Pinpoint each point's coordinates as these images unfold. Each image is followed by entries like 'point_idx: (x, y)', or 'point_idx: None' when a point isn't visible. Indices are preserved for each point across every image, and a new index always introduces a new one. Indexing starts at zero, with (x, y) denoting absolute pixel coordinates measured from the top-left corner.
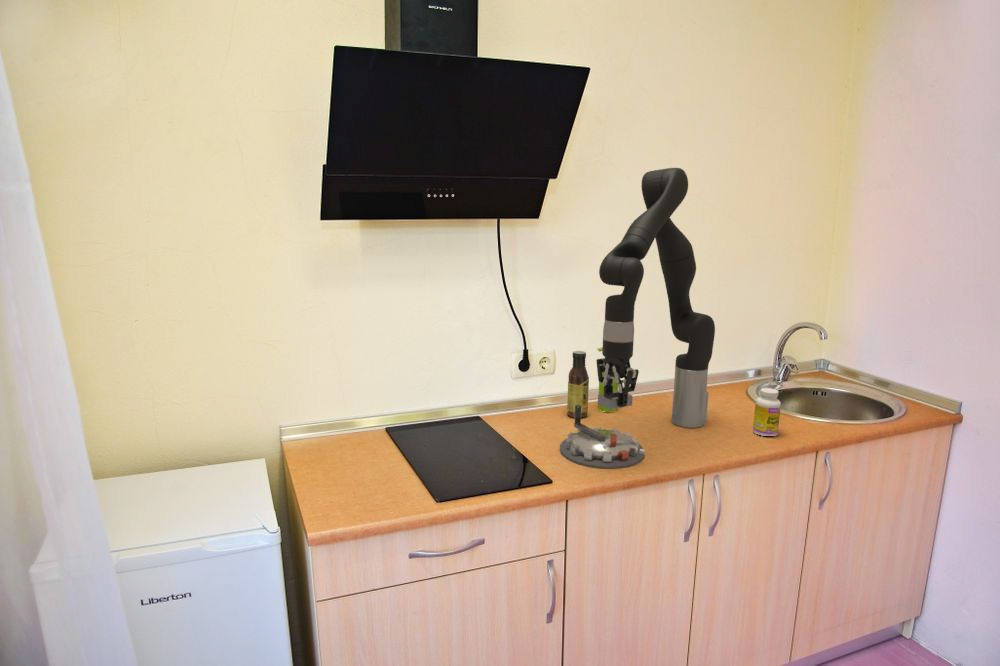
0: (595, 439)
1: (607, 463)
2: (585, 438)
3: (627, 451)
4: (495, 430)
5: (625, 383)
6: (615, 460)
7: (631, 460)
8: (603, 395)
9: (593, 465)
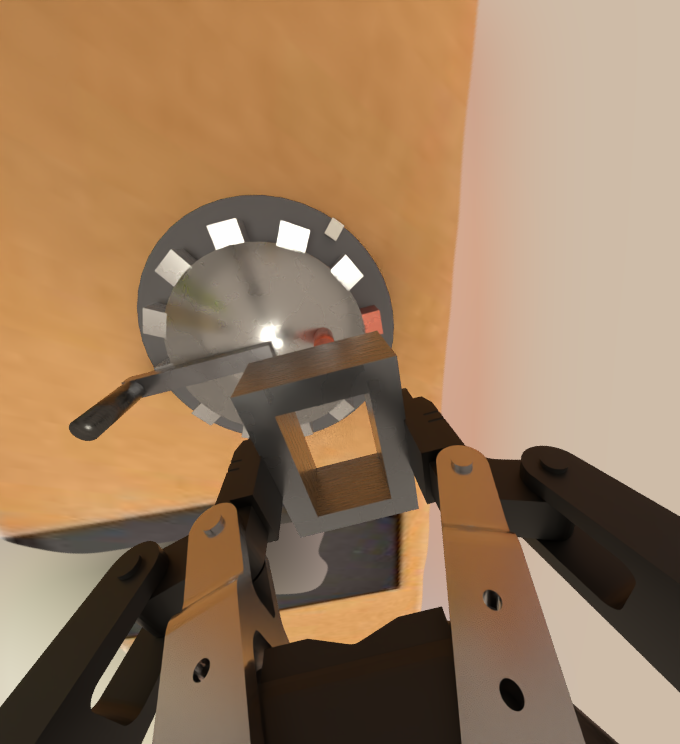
0: None
1: None
2: None
3: (375, 312)
4: (113, 520)
5: (597, 603)
6: None
7: (376, 295)
8: (327, 520)
9: None
